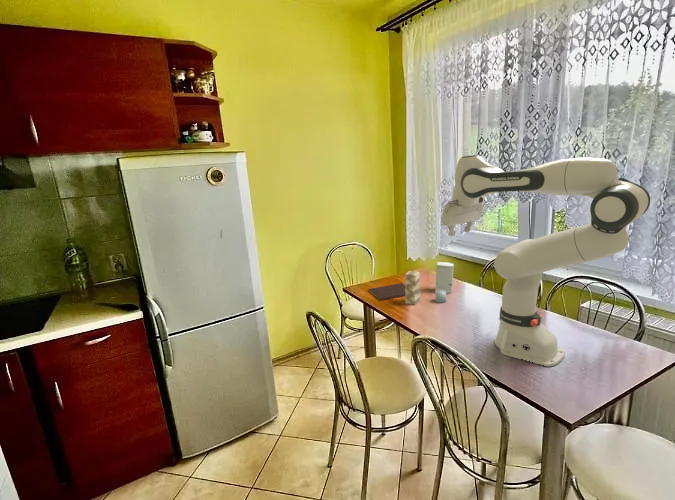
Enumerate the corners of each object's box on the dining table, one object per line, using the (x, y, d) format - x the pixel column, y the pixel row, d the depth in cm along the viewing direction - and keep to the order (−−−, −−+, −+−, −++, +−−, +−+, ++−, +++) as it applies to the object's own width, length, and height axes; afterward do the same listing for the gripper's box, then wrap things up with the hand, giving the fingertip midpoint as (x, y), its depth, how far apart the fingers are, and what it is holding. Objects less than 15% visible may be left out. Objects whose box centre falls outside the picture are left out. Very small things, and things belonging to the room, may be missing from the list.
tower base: (419, 301, 179) (419, 292, 178) (414, 305, 175) (414, 295, 174) (410, 299, 182) (410, 290, 181) (405, 303, 178) (405, 293, 177)
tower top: (419, 282, 177) (419, 272, 175) (415, 285, 173) (415, 275, 171) (409, 280, 179) (409, 270, 178) (405, 283, 175) (405, 273, 174)
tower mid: (420, 292, 177) (420, 283, 175) (412, 295, 174) (412, 285, 173) (412, 290, 181) (412, 280, 179) (405, 292, 178) (405, 283, 177)
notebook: (368, 291, 196) (368, 288, 196) (401, 285, 202) (401, 282, 202) (380, 301, 183) (380, 298, 182) (415, 294, 188) (415, 291, 188)
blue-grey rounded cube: (448, 301, 178) (448, 291, 177) (442, 304, 175) (442, 294, 173) (439, 298, 182) (439, 288, 180) (433, 301, 178) (433, 291, 177)
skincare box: (435, 292, 189) (435, 264, 185) (436, 288, 194) (436, 261, 190) (452, 293, 186) (453, 265, 182) (452, 289, 191) (453, 262, 187)
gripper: (453, 203, 132) (448, 240, 137) (487, 197, 143) (481, 231, 148) (439, 200, 137) (435, 235, 141) (473, 194, 148) (468, 227, 153)
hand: (459, 233), depth 145 cm, fingers open, 8 cm apart
